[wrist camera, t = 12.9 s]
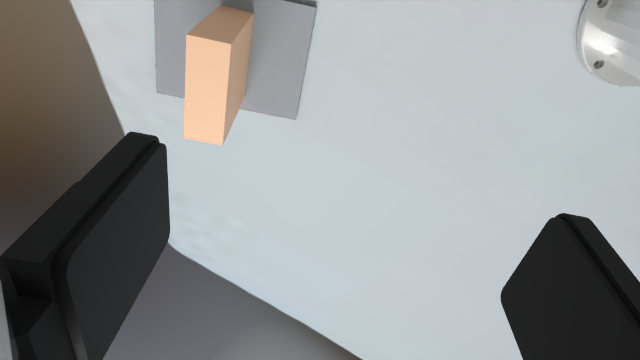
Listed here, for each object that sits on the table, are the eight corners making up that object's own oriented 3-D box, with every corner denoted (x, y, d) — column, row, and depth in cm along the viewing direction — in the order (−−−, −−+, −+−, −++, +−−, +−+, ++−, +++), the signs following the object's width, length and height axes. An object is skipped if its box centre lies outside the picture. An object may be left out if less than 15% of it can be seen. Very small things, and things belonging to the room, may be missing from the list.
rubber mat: (316, 6, 35) (316, 7, 35) (295, 118, 41) (295, 119, 41) (154, -30, 34) (153, -29, 33) (158, 91, 40) (156, 92, 39)
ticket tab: (254, 12, 35) (231, 44, 27) (244, 96, 39) (222, 145, 31) (220, 5, 35) (186, 34, 26) (214, 90, 39) (183, 138, 31)
